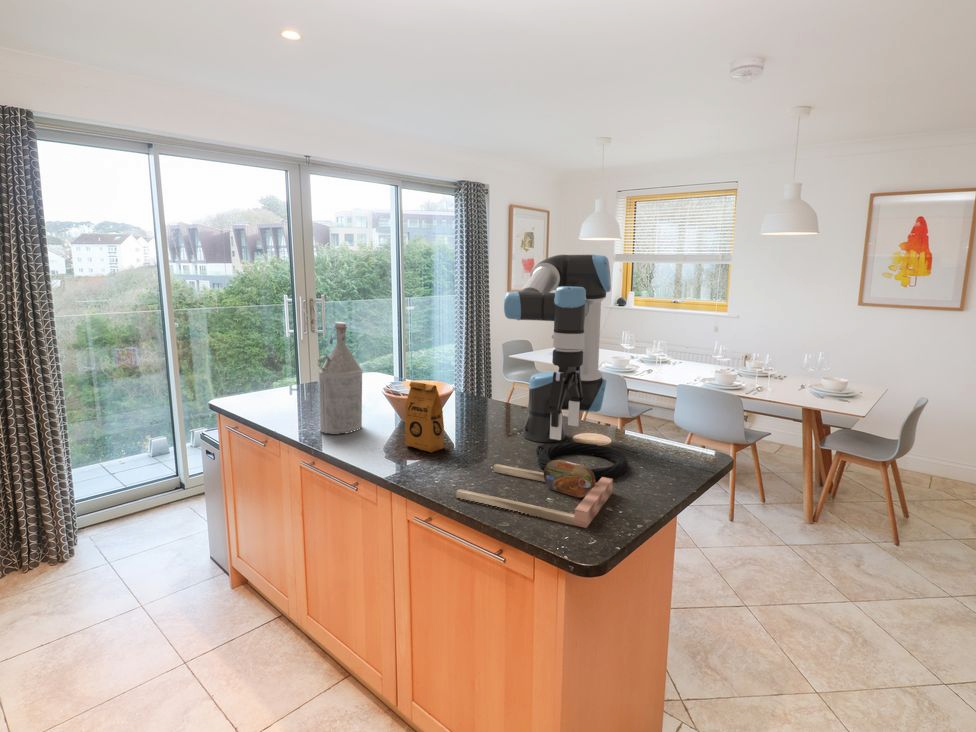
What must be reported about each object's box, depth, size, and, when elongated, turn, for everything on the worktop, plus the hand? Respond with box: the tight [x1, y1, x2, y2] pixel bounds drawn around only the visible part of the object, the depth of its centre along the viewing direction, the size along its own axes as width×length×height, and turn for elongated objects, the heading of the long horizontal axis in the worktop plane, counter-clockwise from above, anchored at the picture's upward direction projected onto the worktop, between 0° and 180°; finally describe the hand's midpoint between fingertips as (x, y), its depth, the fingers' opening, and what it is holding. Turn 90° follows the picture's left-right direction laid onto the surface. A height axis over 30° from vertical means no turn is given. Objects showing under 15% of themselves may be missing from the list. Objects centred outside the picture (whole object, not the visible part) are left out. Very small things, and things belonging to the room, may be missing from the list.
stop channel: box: [456, 463, 614, 529], centre depth 147 cm, size 24×35×4 cm
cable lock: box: [535, 442, 629, 482], centre depth 172 cm, size 28×4×30 cm
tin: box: [543, 459, 597, 499], centre depth 149 cm, size 15×3×8 cm, turn 50°
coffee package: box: [404, 380, 445, 453], centre depth 183 cm, size 10×12×22 cm
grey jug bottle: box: [317, 321, 363, 435], centre depth 201 cm, size 13×17×40 cm
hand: (564, 432), depth 141 cm, fingers open, 13 cm apart
